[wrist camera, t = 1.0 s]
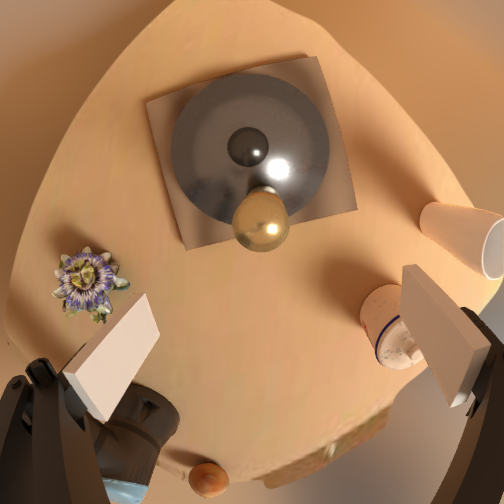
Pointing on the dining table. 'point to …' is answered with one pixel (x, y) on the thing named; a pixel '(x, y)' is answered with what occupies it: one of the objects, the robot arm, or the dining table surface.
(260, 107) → the handwheel
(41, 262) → the dining table surface
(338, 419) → the dining table surface
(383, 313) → the teacup with lid
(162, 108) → the base plate
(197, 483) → the onion
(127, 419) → the robot arm
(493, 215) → the drinking glass
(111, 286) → the passion flower
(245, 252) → the dining table surface
